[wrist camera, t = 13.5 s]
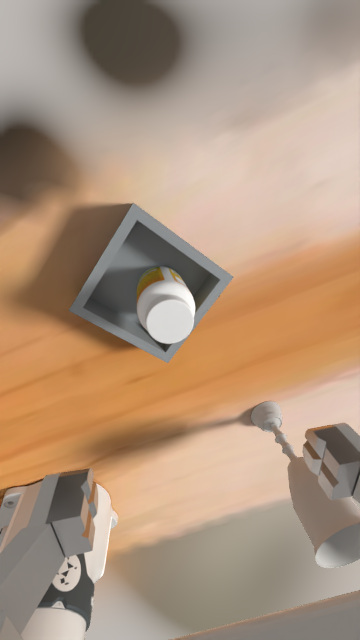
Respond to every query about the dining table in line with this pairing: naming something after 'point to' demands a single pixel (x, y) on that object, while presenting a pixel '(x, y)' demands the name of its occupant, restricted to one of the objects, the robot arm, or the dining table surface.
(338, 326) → the dining table surface
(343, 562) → the chalice
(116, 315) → the tray
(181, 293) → the supplement bottle
